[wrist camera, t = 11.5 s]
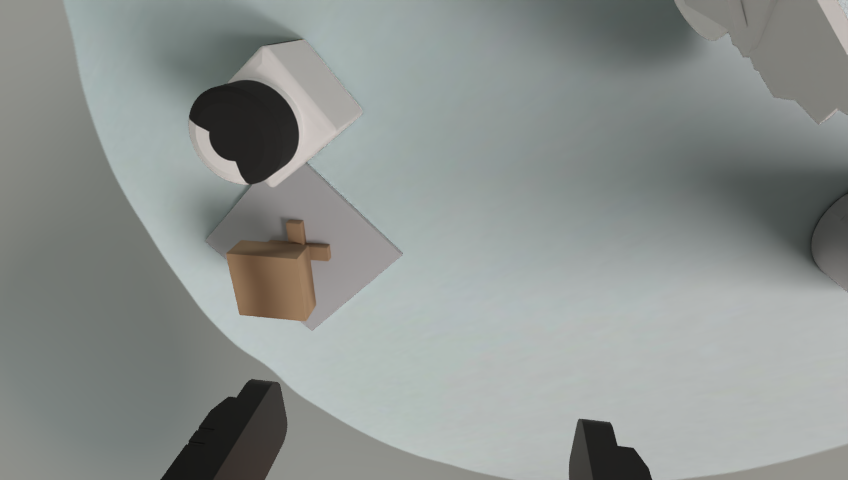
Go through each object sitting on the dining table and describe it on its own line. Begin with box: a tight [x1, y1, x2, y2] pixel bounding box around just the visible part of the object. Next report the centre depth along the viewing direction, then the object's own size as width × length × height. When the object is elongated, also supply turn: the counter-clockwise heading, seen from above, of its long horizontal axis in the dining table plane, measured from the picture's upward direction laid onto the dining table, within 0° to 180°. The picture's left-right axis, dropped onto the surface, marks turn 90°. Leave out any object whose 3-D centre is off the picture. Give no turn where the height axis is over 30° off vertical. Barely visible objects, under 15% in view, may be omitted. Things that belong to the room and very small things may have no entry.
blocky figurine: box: [189, 39, 362, 187], centre depth 32 cm, size 7×7×12 cm
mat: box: [205, 163, 403, 331], centre depth 44 cm, size 14×14×1 cm
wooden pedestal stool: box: [226, 220, 331, 321], centre depth 41 cm, size 6×6×7 cm
